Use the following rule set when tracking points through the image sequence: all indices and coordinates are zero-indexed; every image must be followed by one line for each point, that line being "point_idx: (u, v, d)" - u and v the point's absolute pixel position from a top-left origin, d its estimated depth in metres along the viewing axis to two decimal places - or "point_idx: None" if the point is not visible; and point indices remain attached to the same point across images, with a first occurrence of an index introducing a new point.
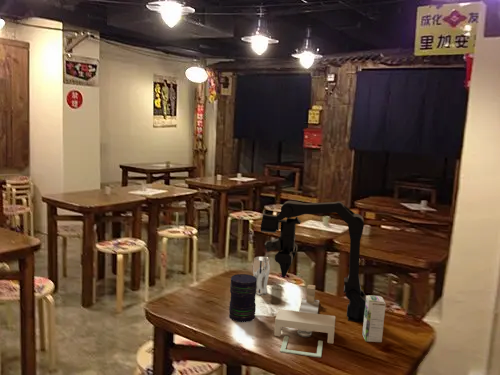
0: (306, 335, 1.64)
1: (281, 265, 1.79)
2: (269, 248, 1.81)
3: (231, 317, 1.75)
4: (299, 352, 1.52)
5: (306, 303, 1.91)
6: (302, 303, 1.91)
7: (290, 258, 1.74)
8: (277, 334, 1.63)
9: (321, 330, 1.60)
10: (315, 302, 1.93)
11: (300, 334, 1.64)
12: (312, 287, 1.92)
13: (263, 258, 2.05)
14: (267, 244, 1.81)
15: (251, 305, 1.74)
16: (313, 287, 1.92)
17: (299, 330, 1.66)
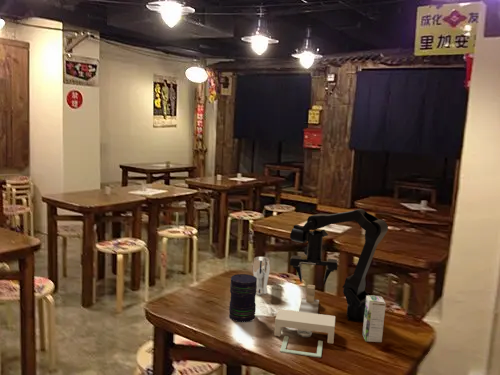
0: (306, 335, 1.64)
1: None
2: None
3: (231, 317, 1.75)
4: (299, 352, 1.52)
5: (306, 303, 1.91)
6: (302, 303, 1.91)
7: (290, 261, 1.90)
8: (277, 334, 1.63)
9: (321, 330, 1.60)
10: (314, 301, 1.93)
11: (300, 334, 1.64)
12: (312, 287, 1.93)
13: (263, 258, 2.05)
14: None
15: (251, 305, 1.74)
16: (313, 287, 1.92)
17: (299, 330, 1.66)
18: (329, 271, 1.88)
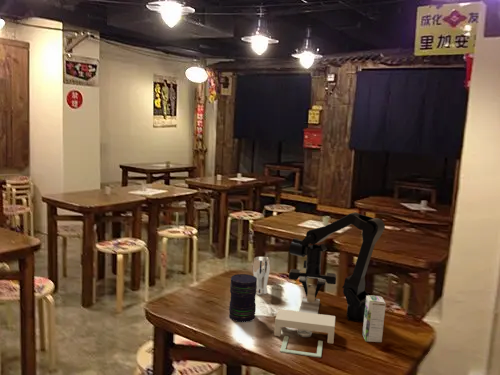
0: (306, 335, 1.64)
1: None
2: None
3: (231, 317, 1.75)
4: (299, 352, 1.52)
5: (307, 302, 1.91)
6: (303, 302, 1.91)
7: (289, 275, 1.91)
8: (277, 334, 1.63)
9: (321, 330, 1.60)
10: (315, 301, 1.93)
11: (300, 334, 1.64)
12: (313, 286, 1.93)
13: (263, 258, 2.05)
14: None
15: (251, 305, 1.74)
16: (314, 286, 1.93)
17: (299, 330, 1.66)
18: (320, 284, 1.89)
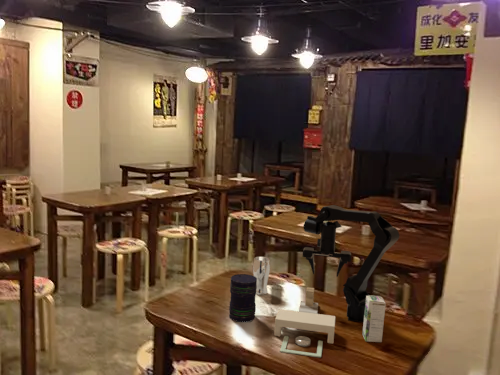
0: (304, 344, 1.57)
1: None
2: (317, 245, 1.95)
3: (231, 317, 1.75)
4: (299, 352, 1.52)
5: (305, 306, 1.88)
6: (301, 306, 1.88)
7: (303, 253, 1.88)
8: (277, 334, 1.63)
9: (321, 330, 1.60)
10: (314, 305, 1.90)
11: (298, 343, 1.57)
12: (311, 289, 1.89)
13: (263, 258, 2.05)
14: None
15: (251, 305, 1.74)
16: (312, 290, 1.89)
17: (297, 339, 1.59)
18: (342, 263, 1.85)
